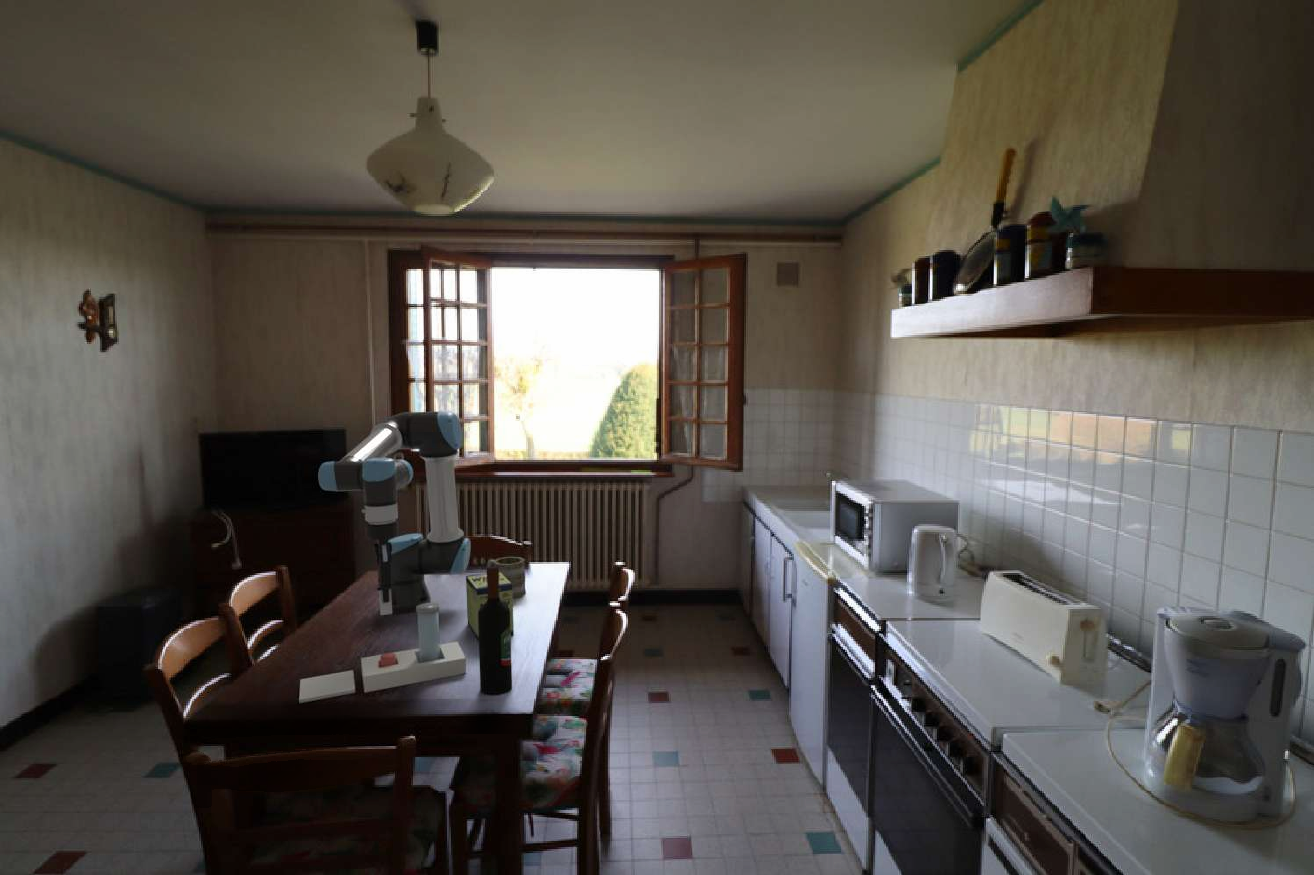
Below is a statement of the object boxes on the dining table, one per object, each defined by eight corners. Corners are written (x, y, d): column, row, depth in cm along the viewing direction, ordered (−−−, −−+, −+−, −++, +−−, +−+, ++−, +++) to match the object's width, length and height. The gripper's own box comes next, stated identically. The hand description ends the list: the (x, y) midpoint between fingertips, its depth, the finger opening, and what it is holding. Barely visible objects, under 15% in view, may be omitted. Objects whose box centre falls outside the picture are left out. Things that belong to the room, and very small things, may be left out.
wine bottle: (483, 682, 172) (479, 563, 169) (513, 680, 172) (510, 562, 170) (477, 696, 164) (473, 572, 161) (510, 694, 165) (506, 571, 162)
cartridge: (417, 668, 180) (414, 604, 179) (439, 664, 183) (437, 601, 181) (420, 676, 175) (417, 611, 174) (443, 672, 178) (440, 607, 176)
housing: (361, 673, 177) (361, 658, 177) (457, 655, 188) (457, 641, 187) (364, 692, 167) (363, 676, 166) (466, 673, 177) (465, 657, 177)
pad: (300, 682, 172) (300, 679, 172) (353, 673, 177) (353, 670, 177) (299, 703, 162) (299, 699, 161) (355, 692, 167) (355, 689, 167)
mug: (532, 593, 241) (531, 559, 239) (510, 601, 232) (509, 566, 230) (499, 585, 249) (498, 553, 248) (477, 594, 240) (476, 560, 239)
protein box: (478, 642, 197) (477, 589, 196) (466, 624, 211) (465, 575, 209) (514, 635, 202) (513, 583, 200) (500, 619, 216) (499, 570, 214)
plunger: (380, 671, 175) (379, 654, 175) (395, 668, 177) (394, 651, 176) (381, 677, 172) (380, 659, 172) (397, 674, 174) (396, 657, 173)
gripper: (363, 517, 175) (368, 607, 177) (366, 528, 163) (371, 624, 166) (395, 514, 178) (399, 603, 181) (400, 524, 166) (404, 619, 169)
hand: (386, 613), depth 173 cm, fingers closed
